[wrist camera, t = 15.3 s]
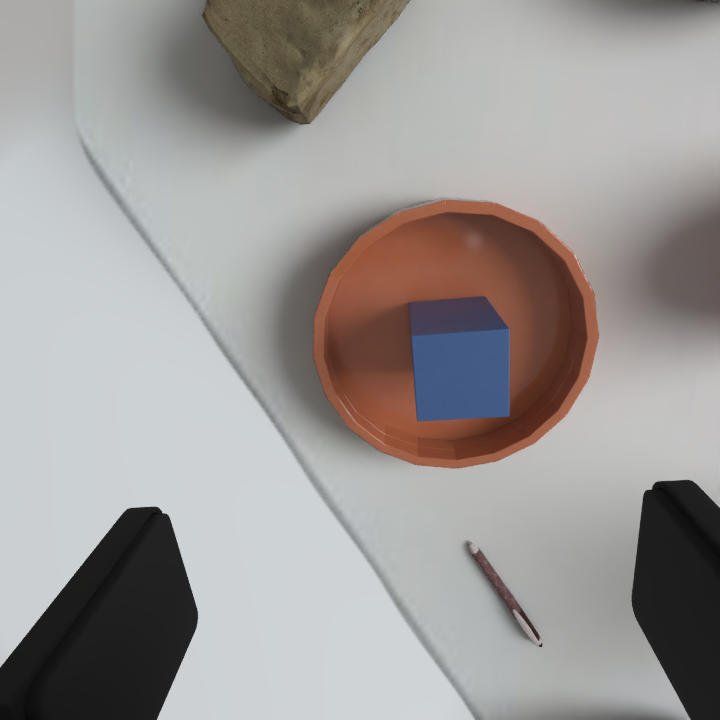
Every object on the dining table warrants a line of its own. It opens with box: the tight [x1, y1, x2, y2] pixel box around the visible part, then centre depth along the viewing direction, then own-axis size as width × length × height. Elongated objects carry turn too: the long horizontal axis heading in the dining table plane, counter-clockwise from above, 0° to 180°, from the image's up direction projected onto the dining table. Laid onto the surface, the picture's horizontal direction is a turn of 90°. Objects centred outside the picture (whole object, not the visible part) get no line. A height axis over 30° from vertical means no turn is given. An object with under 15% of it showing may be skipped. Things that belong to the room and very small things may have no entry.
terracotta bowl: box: [313, 198, 599, 468], centre depth 28 cm, size 15×15×3 cm
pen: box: [468, 541, 542, 647], centre depth 36 cm, size 11×1×1 cm, turn 33°
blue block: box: [408, 296, 510, 422], centre depth 26 cm, size 4×4×6 cm
